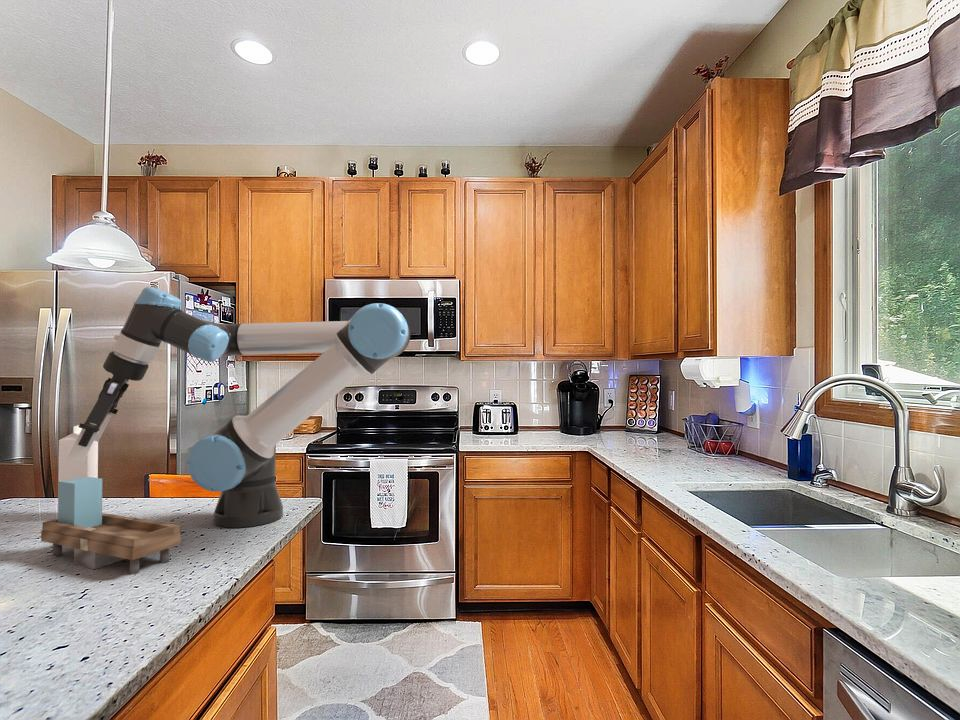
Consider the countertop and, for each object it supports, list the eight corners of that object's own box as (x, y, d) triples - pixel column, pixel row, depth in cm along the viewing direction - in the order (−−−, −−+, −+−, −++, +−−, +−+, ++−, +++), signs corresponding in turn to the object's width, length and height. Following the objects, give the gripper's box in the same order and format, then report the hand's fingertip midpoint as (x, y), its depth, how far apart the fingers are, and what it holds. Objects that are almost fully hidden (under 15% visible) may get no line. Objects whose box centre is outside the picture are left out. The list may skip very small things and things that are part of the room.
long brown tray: (40, 557, 100) (40, 522, 100) (92, 542, 108) (92, 510, 108) (131, 578, 90) (132, 539, 90) (180, 559, 98) (181, 524, 98)
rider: (57, 528, 101) (58, 481, 101) (85, 521, 106) (86, 476, 106) (74, 531, 99) (74, 483, 99) (101, 524, 104) (102, 478, 104)
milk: (57, 520, 124) (57, 426, 124) (69, 513, 130) (69, 424, 130) (87, 518, 126) (87, 425, 126) (98, 511, 131) (98, 423, 132)
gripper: (121, 342, 120) (78, 426, 119) (97, 359, 98) (44, 463, 97) (156, 355, 124) (115, 437, 123) (141, 375, 101) (90, 475, 100)
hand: (83, 449), depth 110 cm, fingers open, 13 cm apart
